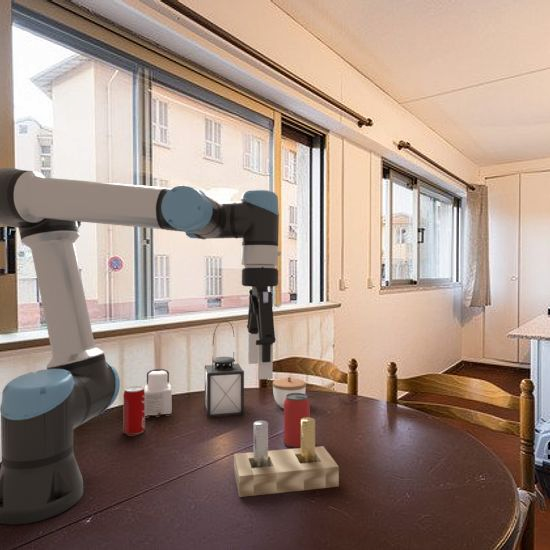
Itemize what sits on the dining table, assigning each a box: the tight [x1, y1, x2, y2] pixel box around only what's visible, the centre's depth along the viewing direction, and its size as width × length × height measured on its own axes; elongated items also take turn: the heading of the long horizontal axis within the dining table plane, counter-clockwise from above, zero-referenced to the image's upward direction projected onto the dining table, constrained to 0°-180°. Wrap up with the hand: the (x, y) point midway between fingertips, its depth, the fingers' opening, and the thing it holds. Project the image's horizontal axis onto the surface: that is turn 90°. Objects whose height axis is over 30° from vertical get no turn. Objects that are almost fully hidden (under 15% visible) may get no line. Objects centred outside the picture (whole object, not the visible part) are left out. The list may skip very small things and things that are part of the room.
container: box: [144, 368, 173, 416], centre depth 127 cm, size 8×8×13 cm
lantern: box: [204, 320, 245, 418], centre depth 129 cm, size 11×11×28 cm
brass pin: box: [301, 416, 316, 464], centre depth 87 cm, size 3×3×12 cm
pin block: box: [233, 445, 340, 498], centre depth 86 cm, size 20×10×4 cm, turn 101°
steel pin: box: [252, 420, 269, 468], centre depth 85 cm, size 3×3×12 cm
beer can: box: [283, 393, 311, 449], centre depth 104 cm, size 7×7×12 cm
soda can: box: [122, 385, 146, 435], centre depth 111 cm, size 6×6×12 cm
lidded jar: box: [272, 376, 307, 409], centre depth 133 cm, size 11×11×9 cm
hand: (259, 370), depth 85 cm, fingers open, 13 cm apart
